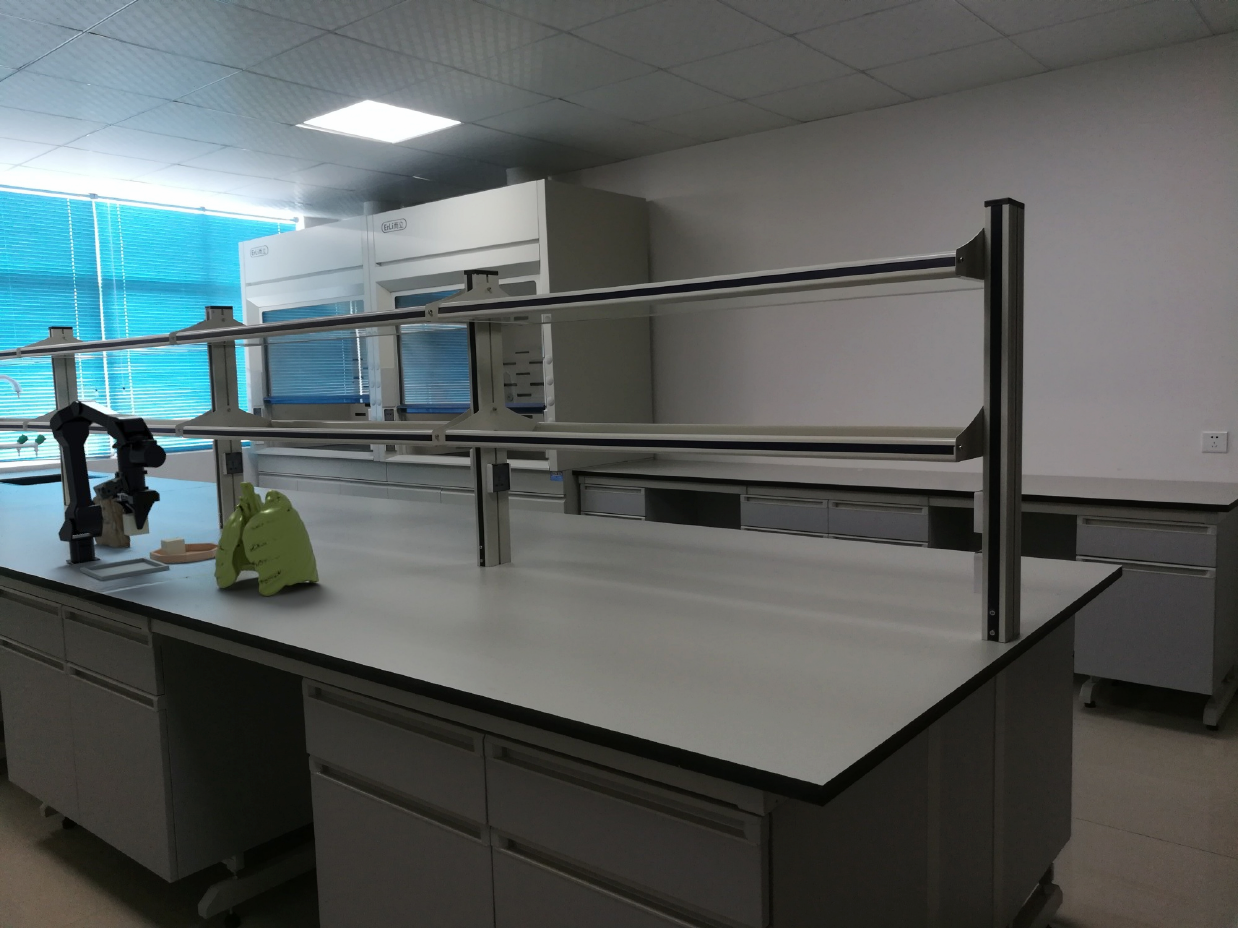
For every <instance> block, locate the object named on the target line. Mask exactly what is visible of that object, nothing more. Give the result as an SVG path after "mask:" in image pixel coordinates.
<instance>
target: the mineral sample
mask: <svg viewBox="0 0 1238 928" xmlns="http://www.w3.org/2000/svg"><path fill="white" fill-rule="evenodd" d="M92 500H93V501H94V502H95V503H96V505H100V506H101V507H102V515H103V518H104V524H103V531H102V536H101V537H94V542H95V543H96V544H97V545H100V546H109V547H112V548H114V549H120V548H121V549H122V548H128V547H131V536H128V535H125V534H124V525H123V514H125V512H124V510H123V508H122V507H121V506H120V505H118V504H117V503H115V502H114V501H116V500H117V498H115V499H109V498H108V499H105V500H102V499H98V497H97V495H96V494H95V496H94V497H92Z"/></svg>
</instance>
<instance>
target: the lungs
mask: <svg viewBox="0 0 1238 928" xmlns="http://www.w3.org/2000/svg"><path fill="white" fill-rule="evenodd" d="M239 486H240V490H241V493H242V496H238V498H237V499H238V501H239V503H238V504H237V505H235V506H233V508H234V509H235V511H233V512H232V513H231V514H230V516H229V518H227V520H226V522H225V523H224V524H223V527H222V531H221V536H220V538H219V540H218V543H217V544H218V548H217V552H216V555H215V557H214V558H215V563H214V566H215V567H214V568H215V570H214V573H213V575H214V576H213V577H215V579H216V580H215V582H216V584H217V585H216V586H217V587H218V588H219V589H226V588H228V587H229V586H232V585H233V584H234V583H235V582H236V581H237V580H238V578H239V576H240V574H241V572H243V571H246V572H247V571H248V572H256V573H257V574H258V584H259V585H258V592H259V593H260V594H261V595H262V596H265V597H270V596H273V595H275V594H277V593H278V592H279V591H280V590H282V589H283V588H284V587H285V586H293V585H295V584H297V583H306V582H309V583H318V582H319V581H320V578H319V577H320V576H319V572H318V568H317V560H316V556H315V553H314V549H313V545H312V543H311V539H310V535H309V532H308V530H307V528H306V525H305V523H304V521H303V520H302V518H301V515H300V513H299V512H298V510H296V508H294V506H293V504H292V502H291V501H290V499H289V498H288V497H287V495H286V494H284V493H282V492H280V491H278V490H276V489H270V490H267V492H266V494H265V496H264V502H263V501H262V497H261V495H260V493H256V492H255V490H256V489H255V486H254V484H252V482H250V481H249V482H248V481H242V482H240V485H239Z"/></svg>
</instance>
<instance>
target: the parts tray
mask: <svg viewBox="0 0 1238 928" xmlns="http://www.w3.org/2000/svg"><path fill="white" fill-rule="evenodd" d="M170 568H171V567H170V565H169V564H168V563H161V562H158V561H155V560H152V559H150V557H146V556H144V557H143V556H142V557H139V558H138V557H137V558H131V559H125V560H119V561H112V562H111V561H110V562H106V563H100V564H95V565H94V564H93V565H87V566H80V567H79V572H81V573H82V574H85V575H88V576H89V577H92V578H95V579H96V580H99V581H101V582H105V581H110V580H116V579H122V578H128V577H132V576H141V575H147V574H152V573H158V572H163V571H168V570H171V569H170Z"/></svg>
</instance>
